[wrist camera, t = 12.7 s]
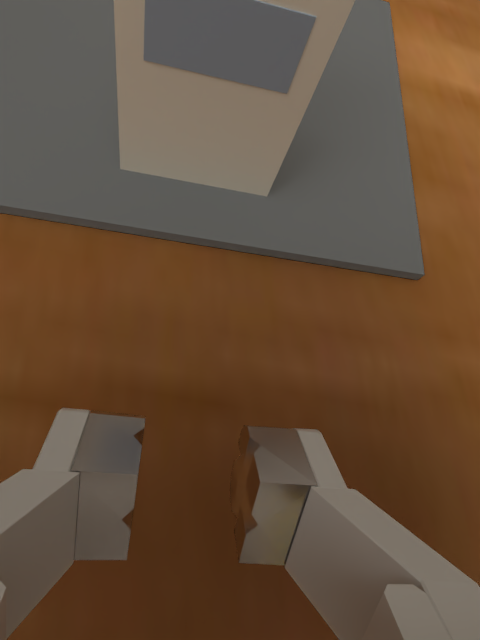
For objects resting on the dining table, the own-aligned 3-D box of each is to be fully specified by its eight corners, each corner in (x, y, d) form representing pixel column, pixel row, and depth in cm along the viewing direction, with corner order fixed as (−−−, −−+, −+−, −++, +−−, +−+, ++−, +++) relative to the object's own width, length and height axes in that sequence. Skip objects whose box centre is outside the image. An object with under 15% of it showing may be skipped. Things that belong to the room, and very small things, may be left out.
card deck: (119, 170, 17) (108, -124, 9) (131, 111, 18) (129, -196, 10) (266, 197, 18) (374, -42, 10) (268, 140, 19) (366, -115, 11)
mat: (-93, 197, 15) (-100, 188, 15) (26, -92, 22) (24, -104, 22) (417, 280, 19) (424, 274, 19) (384, 11, 26) (389, 2, 26)
